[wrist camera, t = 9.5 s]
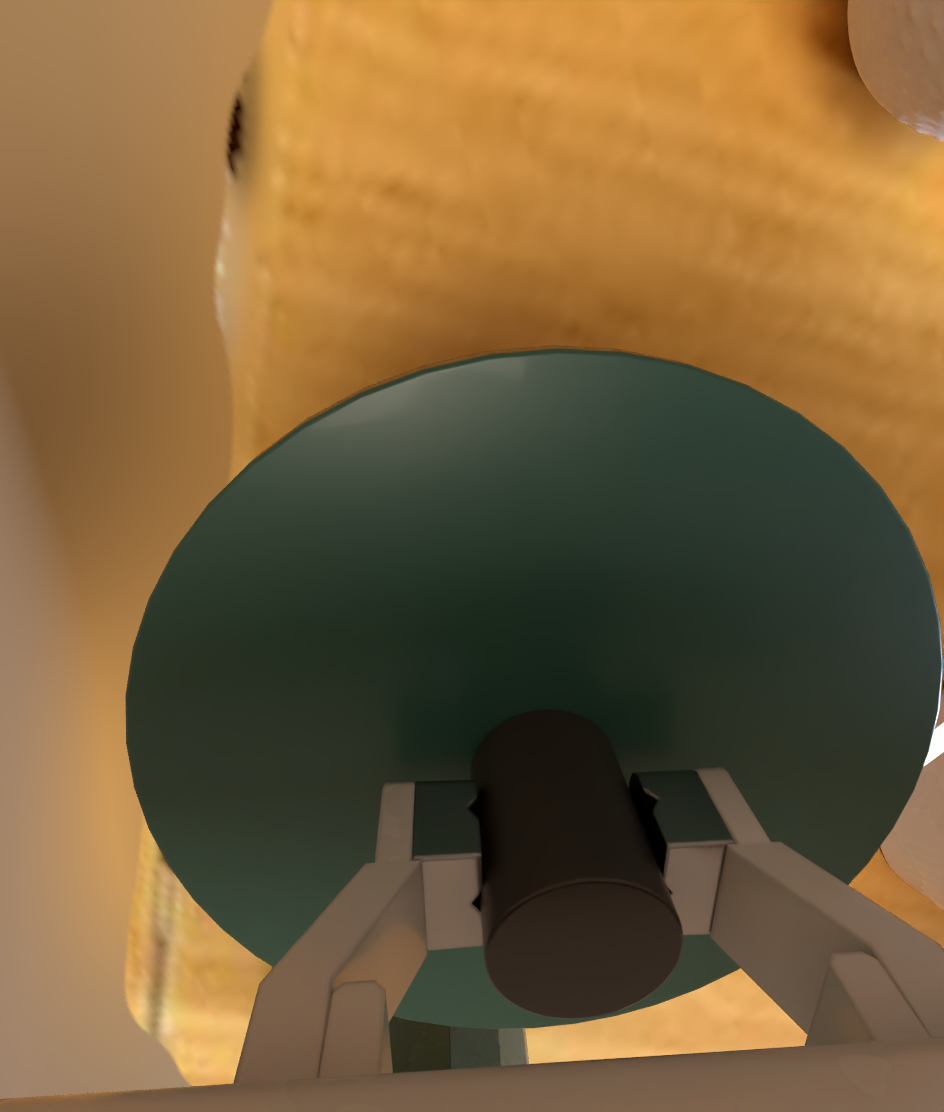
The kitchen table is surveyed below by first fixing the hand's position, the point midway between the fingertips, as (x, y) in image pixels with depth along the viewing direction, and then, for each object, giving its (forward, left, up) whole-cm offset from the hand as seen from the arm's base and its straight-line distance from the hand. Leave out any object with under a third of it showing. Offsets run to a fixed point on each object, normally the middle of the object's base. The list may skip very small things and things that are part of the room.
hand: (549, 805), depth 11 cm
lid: (0, 0, -2) cm, 2 cm away
